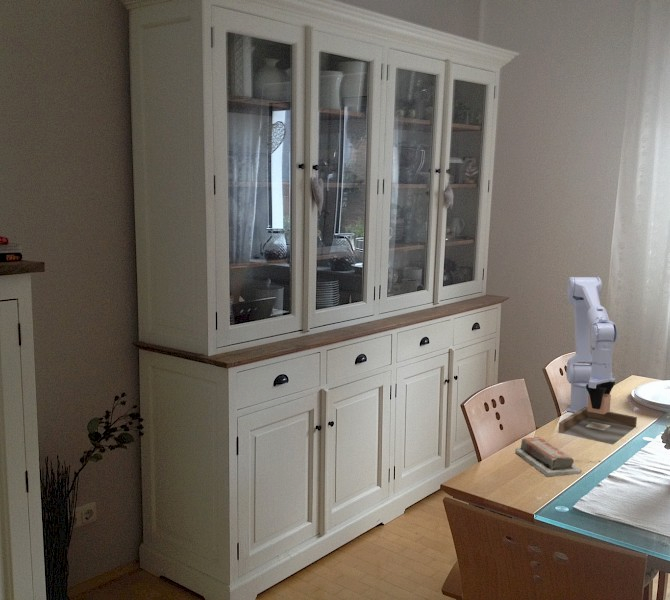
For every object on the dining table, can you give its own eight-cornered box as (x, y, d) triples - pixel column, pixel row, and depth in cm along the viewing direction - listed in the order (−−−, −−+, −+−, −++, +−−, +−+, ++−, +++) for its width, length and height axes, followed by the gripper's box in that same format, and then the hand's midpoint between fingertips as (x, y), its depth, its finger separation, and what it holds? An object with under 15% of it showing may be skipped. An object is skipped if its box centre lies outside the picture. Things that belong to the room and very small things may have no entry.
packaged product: (514, 437, 203) (546, 434, 205) (513, 453, 203) (546, 450, 206) (548, 460, 185) (583, 457, 188) (547, 478, 186) (582, 475, 188)
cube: (593, 407, 225) (594, 391, 224) (609, 410, 221) (610, 394, 221) (587, 411, 221) (588, 395, 220) (603, 414, 218) (604, 398, 217)
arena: (584, 419, 232) (584, 406, 231) (636, 429, 222) (636, 417, 221) (558, 435, 217) (559, 422, 216) (612, 447, 206) (613, 434, 206)
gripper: (606, 369, 211) (603, 414, 213) (623, 360, 222) (621, 403, 224) (582, 365, 215) (580, 410, 217) (600, 356, 226) (598, 399, 228)
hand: (599, 406), depth 221 cm, fingers closed on cube, 5 cm apart
